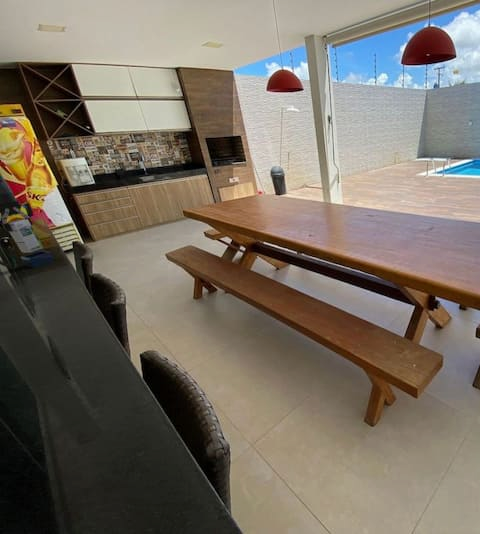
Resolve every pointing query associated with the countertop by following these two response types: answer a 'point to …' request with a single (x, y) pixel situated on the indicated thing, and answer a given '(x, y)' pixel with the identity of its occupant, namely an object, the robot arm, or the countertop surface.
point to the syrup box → (25, 235)
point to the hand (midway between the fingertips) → (20, 228)
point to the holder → (37, 259)
